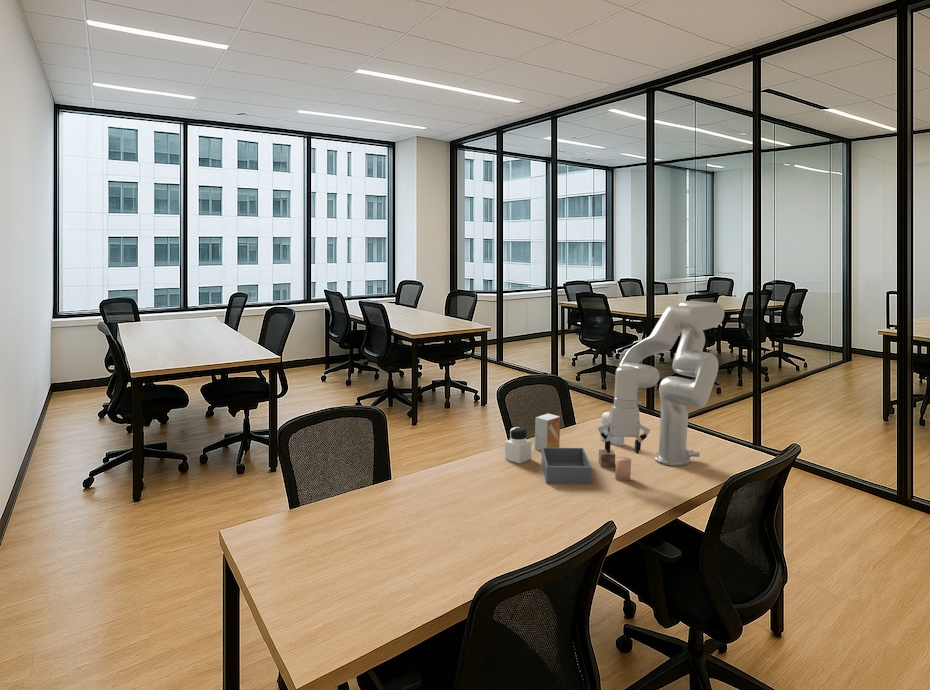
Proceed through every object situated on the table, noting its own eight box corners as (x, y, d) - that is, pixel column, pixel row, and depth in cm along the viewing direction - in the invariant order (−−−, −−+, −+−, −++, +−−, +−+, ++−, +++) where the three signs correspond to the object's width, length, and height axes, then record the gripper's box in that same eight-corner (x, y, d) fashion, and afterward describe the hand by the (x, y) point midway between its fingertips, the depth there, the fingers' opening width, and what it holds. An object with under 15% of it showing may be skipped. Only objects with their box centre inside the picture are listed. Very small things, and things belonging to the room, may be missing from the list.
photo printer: (625, 444, 242) (626, 414, 240) (618, 446, 240) (619, 416, 238) (606, 438, 251) (607, 409, 249) (598, 440, 248) (599, 410, 246)
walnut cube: (612, 462, 223) (612, 449, 223) (614, 467, 218) (615, 454, 218) (598, 462, 224) (598, 449, 223) (601, 467, 219) (601, 454, 218)
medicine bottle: (531, 459, 227) (531, 428, 225) (519, 464, 222) (520, 432, 220) (516, 454, 232) (516, 424, 230) (504, 459, 227) (504, 428, 225)
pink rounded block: (628, 476, 210) (629, 456, 209) (631, 481, 206) (632, 462, 204) (613, 475, 211) (614, 456, 209) (616, 481, 206) (617, 461, 205)
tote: (582, 462, 223) (583, 447, 222) (591, 483, 204) (592, 467, 203) (541, 462, 223) (541, 447, 222) (546, 483, 205) (546, 466, 204)
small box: (547, 453, 234) (547, 420, 231) (534, 449, 238) (534, 417, 236) (560, 448, 239) (560, 416, 237) (547, 444, 244) (547, 413, 241)
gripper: (648, 401, 207) (645, 449, 209) (597, 399, 207) (594, 447, 210) (654, 406, 199) (650, 456, 202) (601, 405, 200) (598, 455, 203)
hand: (622, 452), depth 206 cm, fingers open, 9 cm apart
